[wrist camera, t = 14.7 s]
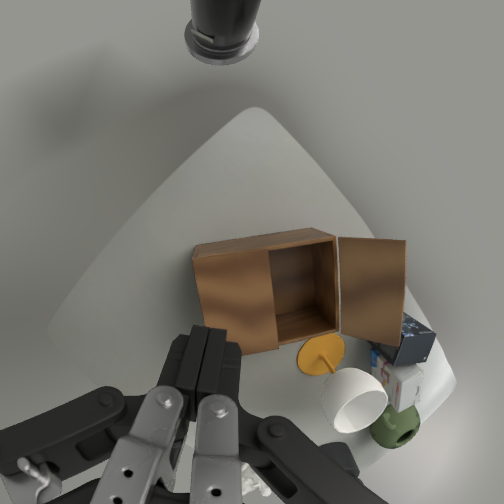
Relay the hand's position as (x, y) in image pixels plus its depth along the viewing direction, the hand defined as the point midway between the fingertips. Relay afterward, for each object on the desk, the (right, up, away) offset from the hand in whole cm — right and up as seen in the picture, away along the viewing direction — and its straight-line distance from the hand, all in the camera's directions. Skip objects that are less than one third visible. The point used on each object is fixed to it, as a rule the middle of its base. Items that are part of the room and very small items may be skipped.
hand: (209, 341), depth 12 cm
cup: (+14, -14, +34) cm, 39 cm away
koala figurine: (+2, -42, +38) cm, 56 cm away
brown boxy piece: (+3, 0, +29) cm, 29 cm away
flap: (+16, -1, +18) cm, 24 cm away
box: (+26, -10, +35) cm, 45 cm away
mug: (+35, -36, +41) cm, 65 cm away
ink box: (+28, -18, +37) cm, 49 cm away
